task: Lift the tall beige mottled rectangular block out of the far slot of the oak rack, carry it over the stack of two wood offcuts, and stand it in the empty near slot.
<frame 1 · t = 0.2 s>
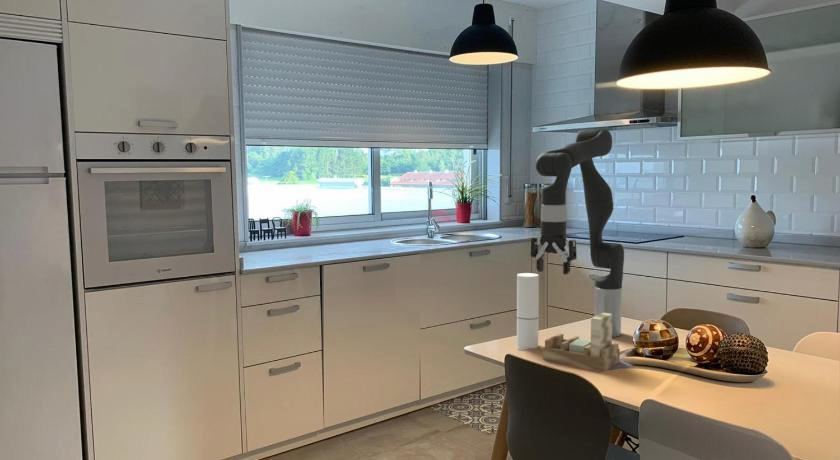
hand: (553, 272, 198), 29 cm above the table, tool pointing down, fingers open, 8 cm apart
beige mottled rectangular block: (601, 364, 197), point 1 cm above the table, touching rack
offcut upper: (580, 351, 201), point 4 cm above the table, touching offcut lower
rack: (581, 363, 202), on the table
cylindrical container: (527, 348, 219), on the table
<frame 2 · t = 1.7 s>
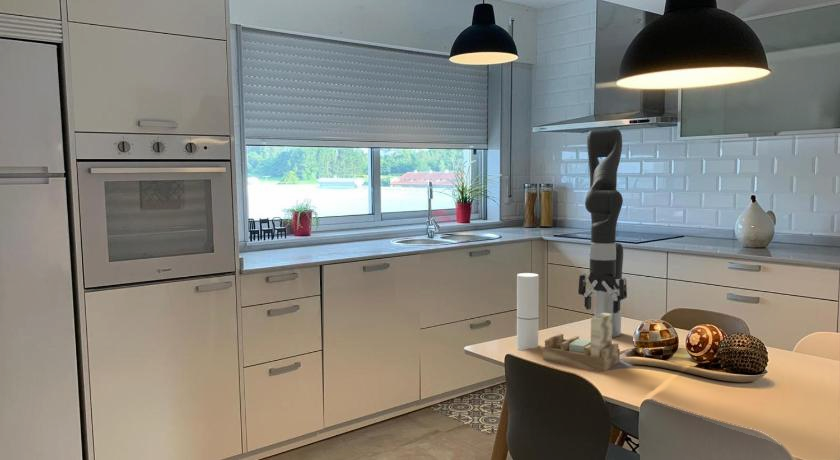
hand: (601, 311, 196), 18 cm above the table, tool pointing down, fingers open, 8 cm apart
nothing on the table moved.
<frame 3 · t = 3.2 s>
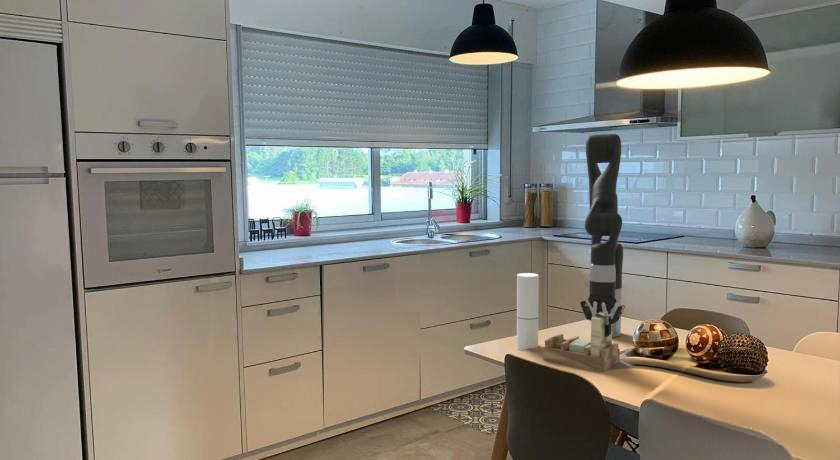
hand: (601, 335, 196), 10 cm above the table, tool pointing down, fingers closed on beige mottled rectangular block, 2 cm apart
beige mottled rectangular block: (601, 364, 197), point 1 cm above the table, touching gripper, rack
everything else where it was.
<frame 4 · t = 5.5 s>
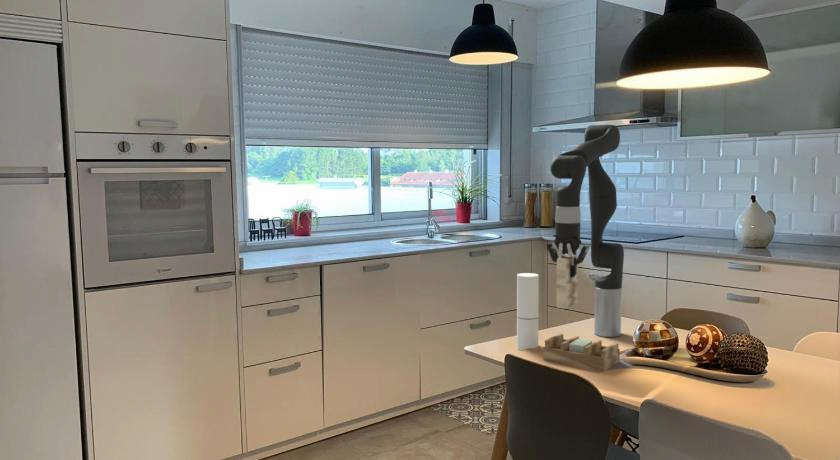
hand: (567, 276, 202), 27 cm above the table, tool pointing down, fingers closed on beige mottled rectangular block, 2 cm apart
beige mottled rectangular block: (567, 305, 203), point 18 cm above the table, touching gripper
everything else where it was.
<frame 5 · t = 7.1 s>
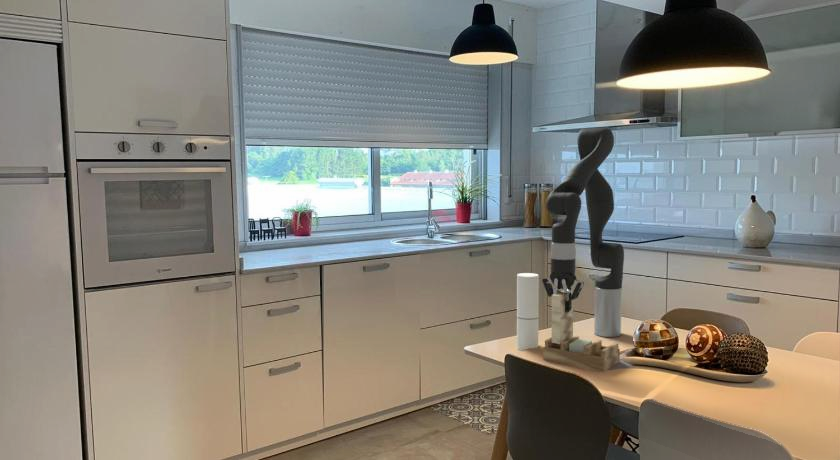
hand: (562, 311, 204), 16 cm above the table, tool pointing down, fingers closed on beige mottled rectangular block, 2 cm apart
beige mottled rectangular block: (562, 339, 205), point 7 cm above the table, touching gripper
everything else where it was.
when the fingers open (12 cm above the table, at t = 8.2 s): beige mottled rectangular block drops 1 cm, resting on rack.
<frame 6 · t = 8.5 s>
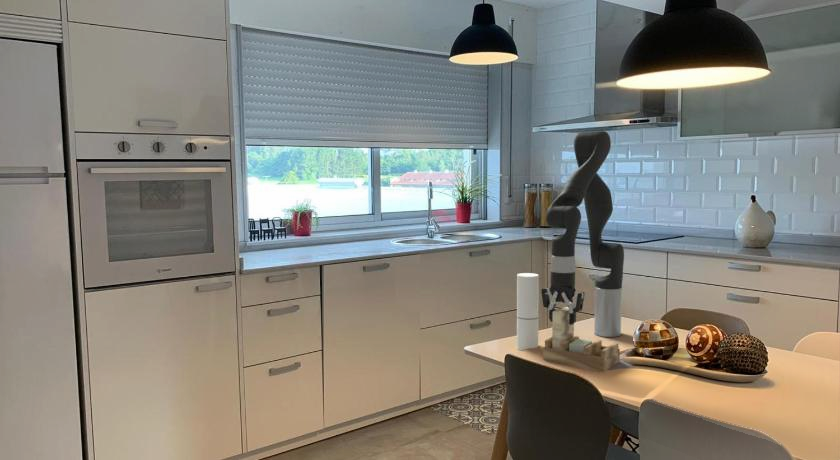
hand: (562, 322, 204), 12 cm above the table, tool pointing down, fingers open, 6 cm apart
beige mottled rectangular block: (562, 356, 206), point 1 cm above the table, touching rack
everything else where it was.
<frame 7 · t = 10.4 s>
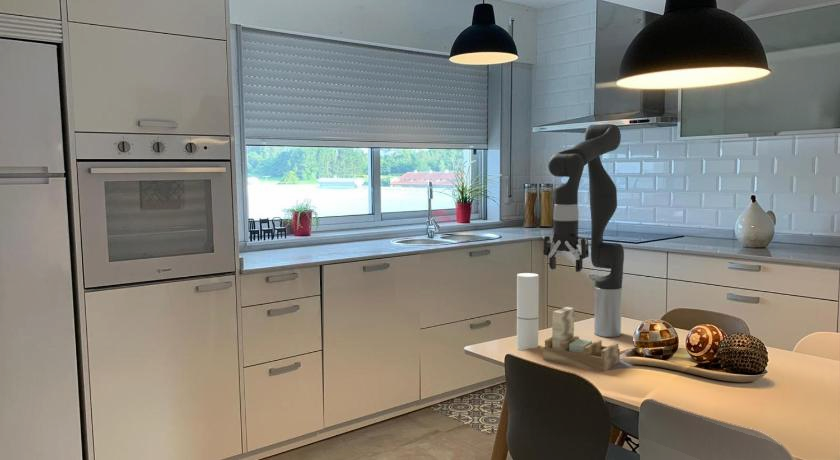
hand: (565, 270, 204), 29 cm above the table, tool pointing down, fingers open, 8 cm apart
nothing on the table moved.
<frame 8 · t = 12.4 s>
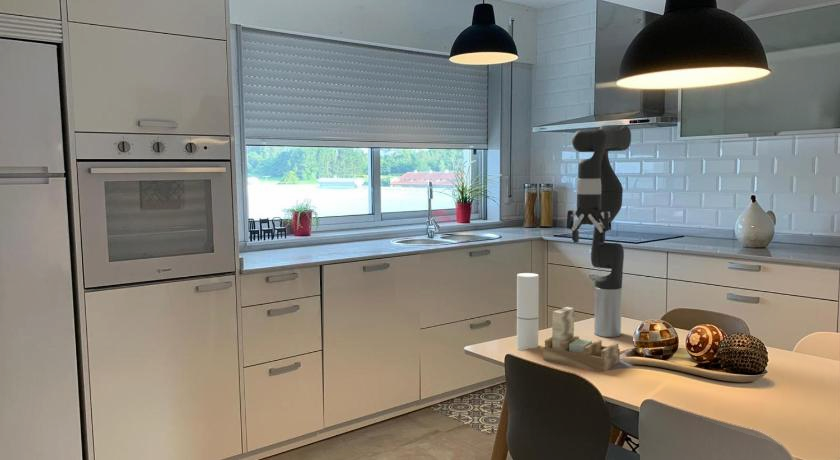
hand: (588, 243, 209), 36 cm above the table, tool pointing down, fingers open, 8 cm apart
nothing on the table moved.
at the end: beige mottled rectangular block 0.6 cm from the target spot on the rack, point 1.0 cm above the rack's base; beige mottled rectangular block tilted 0°; the gripper is holding nothing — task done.
